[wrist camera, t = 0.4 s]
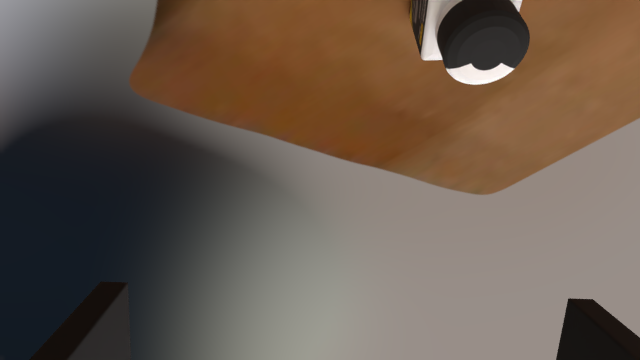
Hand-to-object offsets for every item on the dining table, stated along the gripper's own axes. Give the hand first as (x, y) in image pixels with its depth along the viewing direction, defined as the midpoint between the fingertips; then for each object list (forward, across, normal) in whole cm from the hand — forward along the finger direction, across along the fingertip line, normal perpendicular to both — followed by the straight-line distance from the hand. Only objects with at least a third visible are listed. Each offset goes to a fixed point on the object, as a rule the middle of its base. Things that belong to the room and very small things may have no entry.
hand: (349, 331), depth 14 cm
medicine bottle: (+32, +11, +16) cm, 37 cm away
